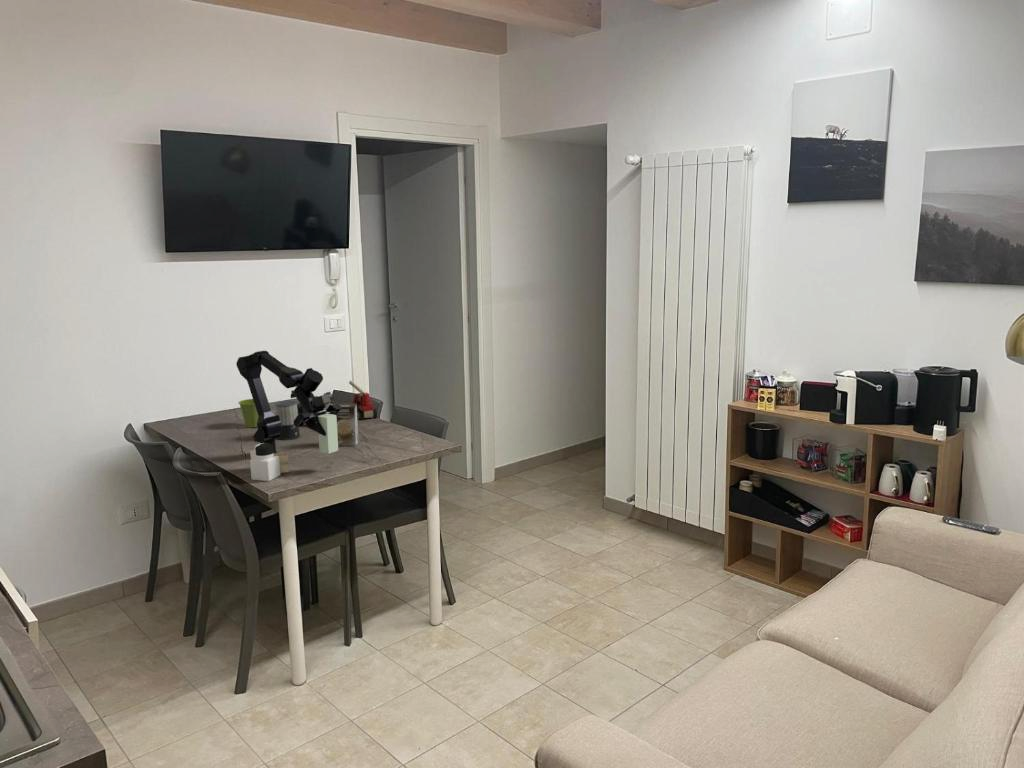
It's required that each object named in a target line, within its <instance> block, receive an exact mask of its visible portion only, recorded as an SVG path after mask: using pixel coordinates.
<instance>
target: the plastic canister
mask: <svg viewBox="0 0 1024 768" xmlns="http://www.w3.org/2000/svg"><path fill="white" fill-rule="evenodd" d="M249 453H250V460H252V459H254V458H256V457H255V448H253V449H251V450H249Z"/></svg>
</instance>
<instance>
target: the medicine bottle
mask: <svg viewBox="0 0 1024 768" xmlns="http://www.w3.org/2000/svg"><path fill="white" fill-rule="evenodd" d="M254 449H255V457H256V458H254V459H252V460H251V459H250V460H249V465H250V475H251V480H252V481H263V482H270V481H273V480H274V479H276V478H278V477H280V476H281V473H280V462H279V456H273V455H274V454H273V445H272V444H270V443H261V444H260V443H258V444H256V445H255V446H254Z"/></svg>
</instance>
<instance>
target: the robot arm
mask: <svg viewBox="0 0 1024 768" xmlns="http://www.w3.org/2000/svg"><path fill="white" fill-rule="evenodd" d="M262 367H263V368H265V369H267V370H268V371H269V372H271V373H273V374H274V375H275V377H277V378H278V380H279V383H280V384H281V385H282V386H283V387H284V388H286V389H292V388H294V389H293V390H290V391H291V393H290V398H291V399H295V398H296V401H297V402H298V403H300V404H301V408H300V409H301V410H305V412H301V413H299V414H298V415H297V417H296V418H295V419H294V425H295V427H296V428H299V429H300V428H306V429H307V428H308V429H310V430H311V431H314V432H316V433H317V434H318V435H319V434H321V435H323V436H326V432H325V430H324V429H323V427H322V426H321V424H320V423H319V421H318V416H320V415H324V414H332V415H337V414H338V413H339V412H340V410H341V409H342V407H341V406H340V405H339V404H340V403H333V404H330V403H332V401H334V395H333V393H332V392H331V391H327V392H324V393H323V394H321V395H320V396H319V395H314V392H315V391H316V390H317V389H318V387H319V386H320V385H321V383H322V382H323V380H324V377H323V375H322V373H321V372H319V371H317V370H314V369H313V368H312V367H309V368H306V369H305V372H304V373H303V371H302V370H299V369H297V368H294V367H290V366H287V365H286V364H284V363H283V362H281V361H280V360H279V359H277V358H276V357H275V356H273V355H271V354H270V353H269V351H267V350H259V351H255V352H253V353H251V354H249V355H245V356H240V357H238V358H237V360H236V368H237V369H238V371H239V374H240V375H241V377H242V378H243V379H245V380H246V382H247V385H248V387H249V392H250V395H251V397H252V399H253V401H254V404H255V407H256V410H257V413H258V416H259V417H258V421H257V427H256V428H257V430H256V431H255V433H254V434H253V436H252V437H253V440H254V441H253V442H255V443H256V442H257V443H259V444H261V443H270V444H272V445H273V454H276V453H278V450H277V445H276V439H278V438H280V436H281V431H282V426H281V425H282V423H281V421H280V417H279V416H278V415H275V413H274V412H272V409H271V408H272V407H271V406H270V402H269V400H268V397H267V394H266V390H265V387H264V384H263V380H262V378H261V373H262V369H263V368H262ZM328 404H329V406H328V407H327V405H328ZM326 407H327V408H326ZM325 408H326V409H325ZM303 421H305V426H304V427H302V426H303V424H304V423H303Z"/></svg>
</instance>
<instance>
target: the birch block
mask: <svg viewBox="0 0 1024 768" xmlns="http://www.w3.org/2000/svg"><path fill="white" fill-rule="evenodd" d="M273 456H279V462H280V474H284V473H288V472H290V463H289V455H288V454H287V453H286V452H277V453H276V454H274V455H273Z"/></svg>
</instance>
